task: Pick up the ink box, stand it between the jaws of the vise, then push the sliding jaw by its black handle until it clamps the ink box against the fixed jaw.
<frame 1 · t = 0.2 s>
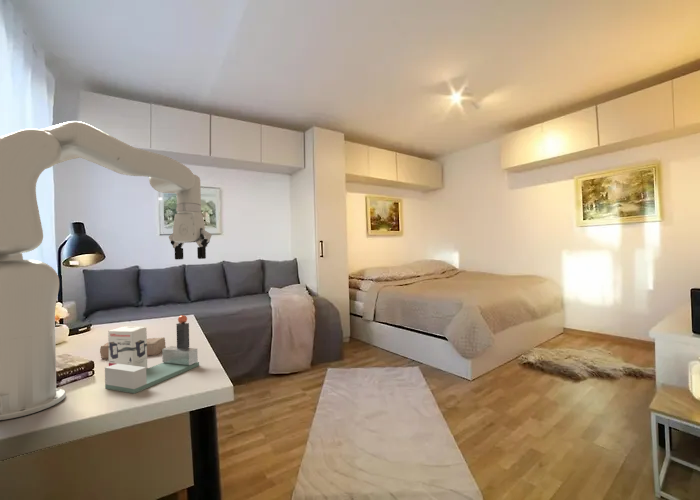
hand: (190, 259, 110), 31 cm above the table, fingers open, 9 cm apart
brick: (134, 354, 105), on the table
vise: (156, 375, 84), on the table
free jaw: (180, 338, 92), point 8 cm above the table, slide at 0.0 cm
ink box: (128, 371, 89), on the table
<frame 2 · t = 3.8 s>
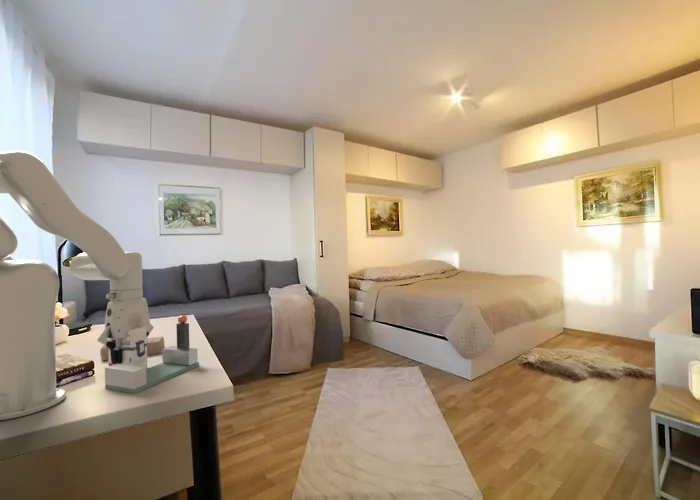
hand: (128, 359, 89), 3 cm above the table, fingers closed on ink box, 5 cm apart
ink box: (128, 370, 89), on the table, touching gripper
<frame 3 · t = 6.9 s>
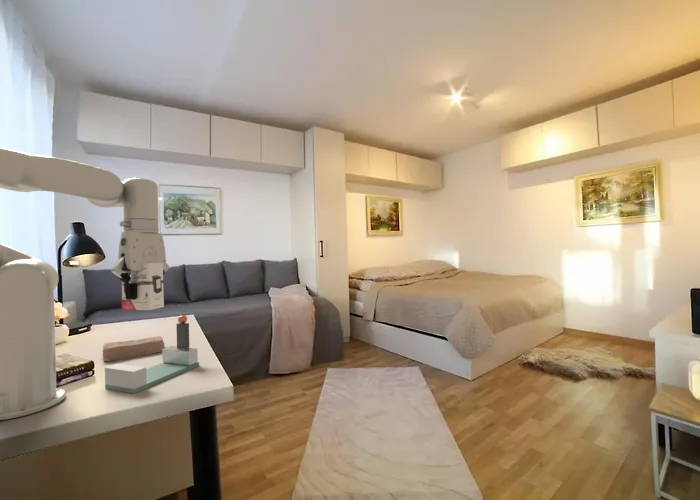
hand: (143, 296, 82), 21 cm above the table, fingers closed on ink box, 5 cm apart
ink box: (143, 309, 82), point 18 cm above the table, touching gripper
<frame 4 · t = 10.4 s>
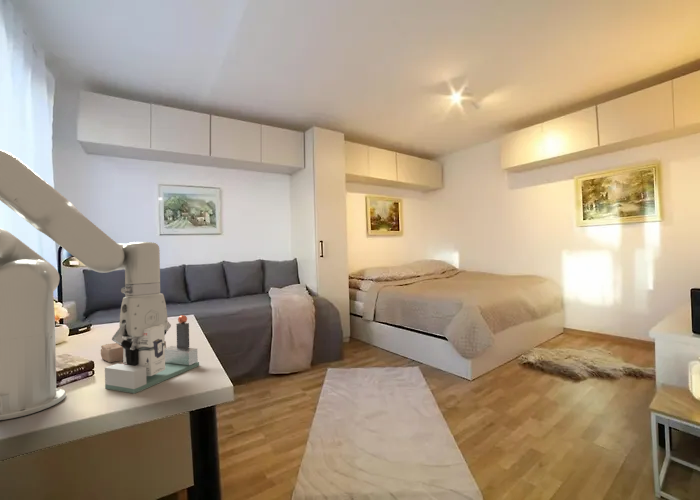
hand: (144, 360, 81), 5 cm above the table, fingers closed on ink box, 5 cm apart
ink box: (144, 372, 81), point 2 cm above the table, touching gripper
when the fingers open (5 cm above the table, at t = 10.4 s): ink box drops 1 cm, resting on vise.
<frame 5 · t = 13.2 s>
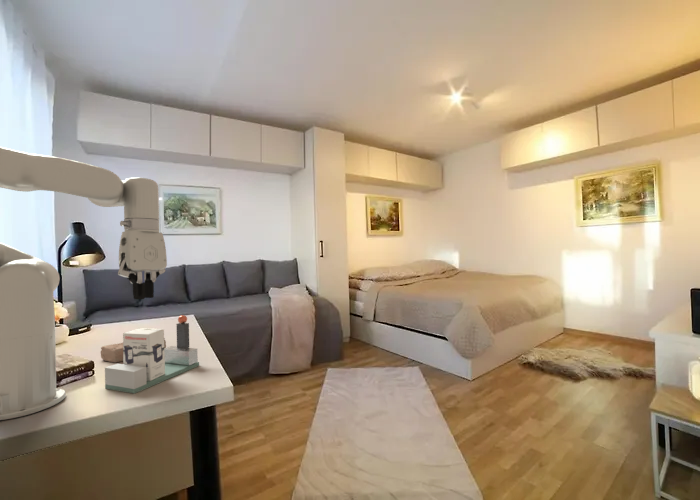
hand: (143, 297, 81), 21 cm above the table, fingers closed
ink box: (144, 377, 81), point 1 cm above the table, touching vise
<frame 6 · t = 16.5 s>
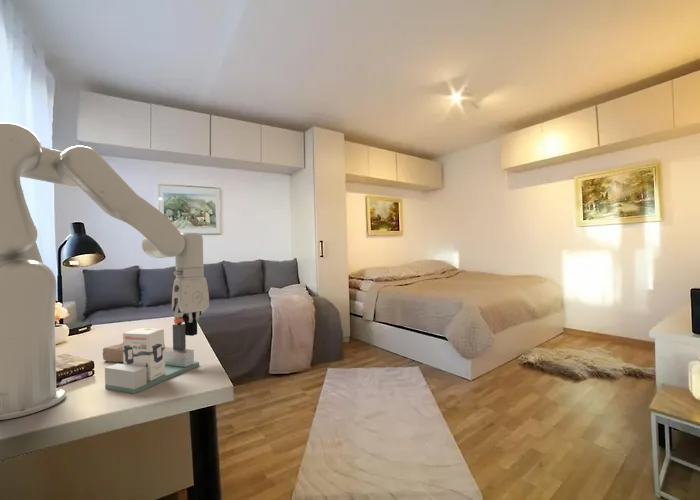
hand: (191, 334, 95), 8 cm above the table, fingers closed
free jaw: (176, 339, 90), point 8 cm above the table, slide at 1.3 cm, touching gripper
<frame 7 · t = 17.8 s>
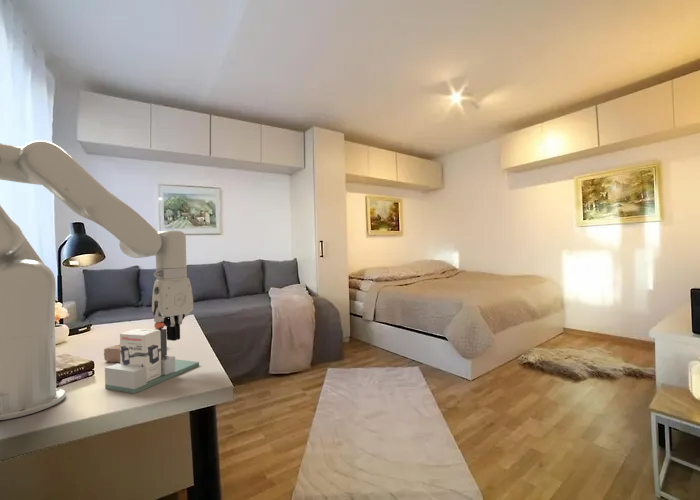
hand: (173, 339, 89), 8 cm above the table, fingers closed
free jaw: (157, 345, 85), point 8 cm above the table, slide at 7.4 cm, touching gripper, ink box
ink box: (141, 378, 80), point 1 cm above the table, touching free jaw, vise
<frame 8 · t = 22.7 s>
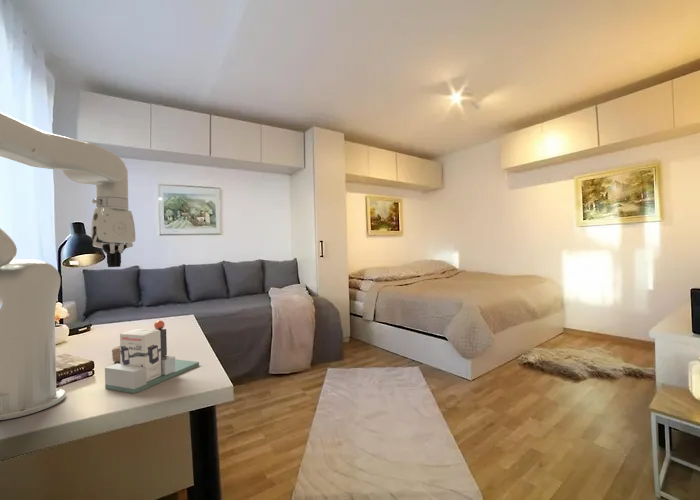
hand: (114, 266, 94), 29 cm above the table, fingers closed
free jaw: (157, 345, 85), point 8 cm above the table, slide at 7.4 cm
ink box: (141, 378, 80), point 1 cm above the table, touching vise
at the end: ink box 0.5 cm from the target spot, point 0.8 cm above the table; ink box tilted 0°; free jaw slide at 7.4 cm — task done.
